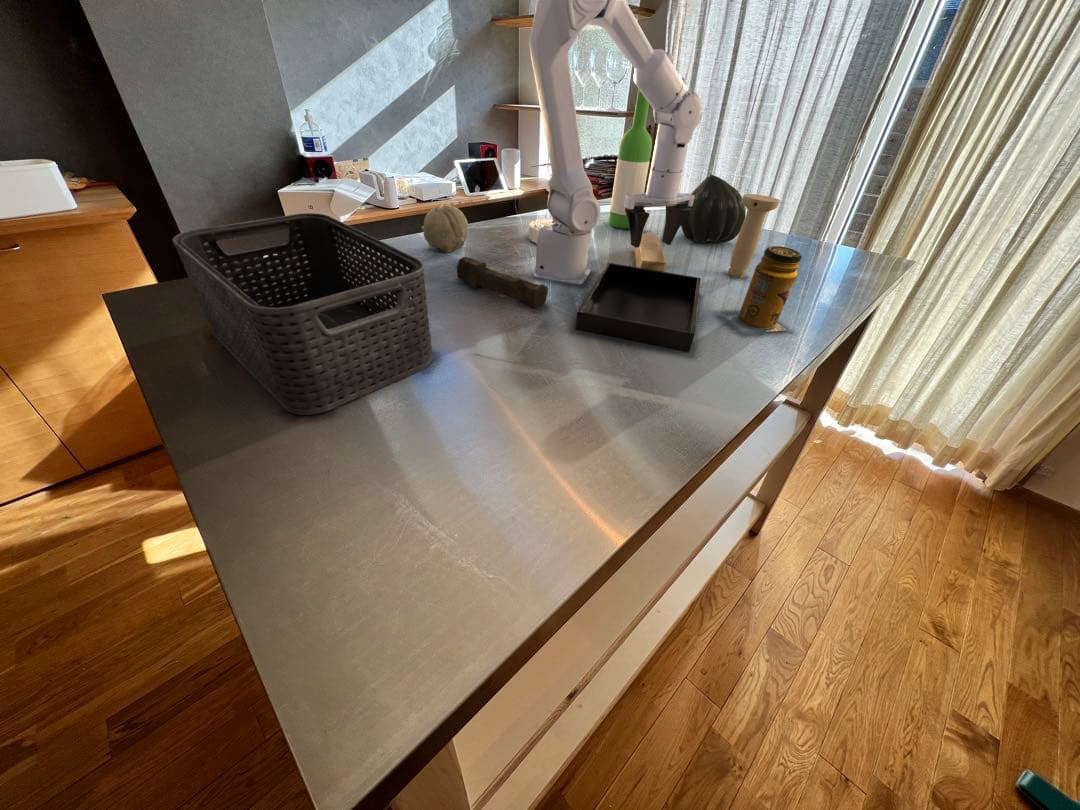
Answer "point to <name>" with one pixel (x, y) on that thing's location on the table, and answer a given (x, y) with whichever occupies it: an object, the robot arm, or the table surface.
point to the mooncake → (537, 228)
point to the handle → (750, 232)
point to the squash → (714, 212)
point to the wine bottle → (631, 164)
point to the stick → (650, 253)
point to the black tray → (642, 307)
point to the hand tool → (501, 282)
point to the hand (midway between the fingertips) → (650, 244)
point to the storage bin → (312, 308)
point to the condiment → (770, 288)
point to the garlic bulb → (445, 228)
